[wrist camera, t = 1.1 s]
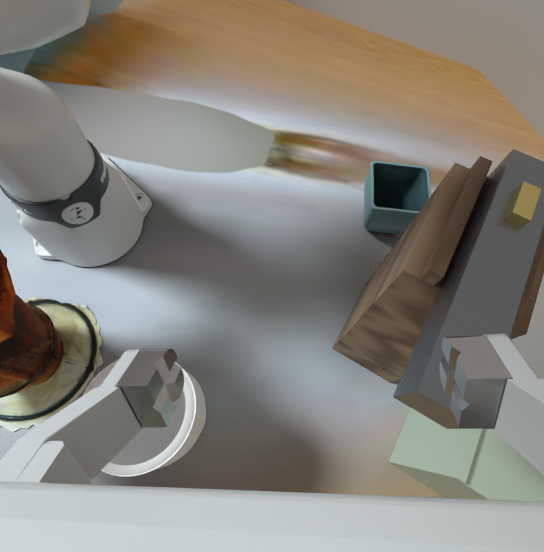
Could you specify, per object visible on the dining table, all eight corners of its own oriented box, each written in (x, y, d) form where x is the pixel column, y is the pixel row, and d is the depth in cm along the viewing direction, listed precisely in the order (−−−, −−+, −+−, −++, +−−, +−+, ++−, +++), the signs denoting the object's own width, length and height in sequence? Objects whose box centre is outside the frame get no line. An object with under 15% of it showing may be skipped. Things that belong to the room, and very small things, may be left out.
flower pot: (408, 246, 56) (434, 214, 48) (355, 240, 56) (371, 207, 48) (405, 202, 60) (429, 166, 51) (355, 196, 60) (370, 159, 52)
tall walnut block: (332, 348, 49) (411, 260, 23) (367, 282, 53) (465, 149, 28) (390, 382, 47) (543, 327, 22) (421, 311, 51) (577, 198, 26)
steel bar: (446, 428, 21) (490, 428, 17) (393, 396, 21) (422, 389, 17) (526, 198, 28) (568, 162, 24) (484, 180, 29) (519, 141, 25)
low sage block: (388, 461, 43) (456, 477, 28) (422, 377, 47) (495, 353, 33) (449, 500, 41) (553, 537, 27) (478, 409, 46) (581, 399, 31)
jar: (202, 364, 47) (179, 336, 33) (225, 442, 43) (209, 447, 29) (124, 392, 45) (66, 375, 31) (140, 477, 41) (82, 499, 28)
